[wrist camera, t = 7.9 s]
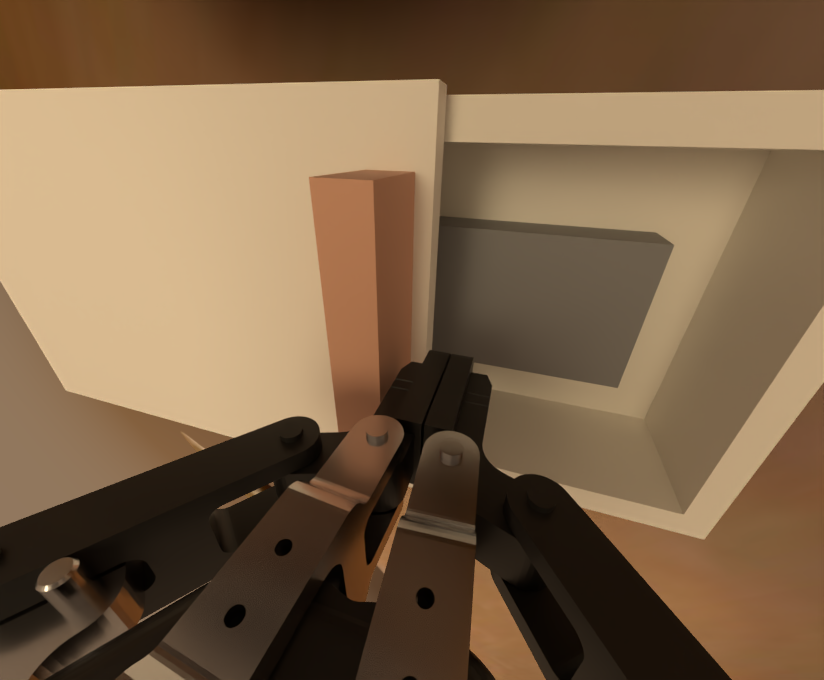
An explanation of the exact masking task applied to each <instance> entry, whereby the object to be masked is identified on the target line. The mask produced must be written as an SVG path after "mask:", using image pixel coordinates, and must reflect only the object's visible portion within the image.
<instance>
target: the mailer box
mask: <svg viewBox="0 0 824 680" xmlns="http://www.w3.org/2000/svg"><path fill="white" fill-rule="evenodd" d="M432 350H433V351H439V352H445V353H451V355H452V354H457V355H463V356H469V357H474V365H473V373H479V374H484V375H487V376H488V378H489V380H490V382H491V384H492V390H491V396H490V402H489V408H488V414H487V420H486V426H485V432H484V438H483V444H482V447H483V451H484V454H485V456H486V458H487V459H488V461H489V462H490V463H491V464H492V465H493V466H494V467H495V468H497V469H498V470H500V471H501V472H503V473H505V474H506V475H508V476H510V477H512V478H514V479H515V478H516V477H518V476H520V475H524V474H537V475H541V476H544V477H547V478H549V479H551V480H553V481H555V482H556V483H558V484H559V485H560V486H562V487H563V488H564V489H565V490H566V491H567V492H568V494H569V495H570V496H571V497H572V498H573V499H574V500H575V502H576V503H577V504H578V505H579V506H580V507H582V508H585V509H589V510H593V511H597V512H601V513H604V514H608V515H612V516H616V517H620V518H623V519H627V520H631V521H635V522H639V523H642V524H646V525H650V526H654V527H658V528H662V529H665V530H669V531H673V532H677V533H681V534H684V535H688V536H692V537H696V538H700V539H703V540H704V539H705V538H706V536H707V535H708V534H709V532H710V531H711V530H712V529H713V527H714V526H715V525H716V523H717V522H718V521H719V519H720V518H721V517H722V515H723V514H724V513H725V511H726V510H727V509H728V507H729V506H730V505H731V504H732V502H733V501H734V500H735V498H736V497H737V496H738V494H739V493H740V492H741V490H742V489H743V488H744V486H745V485H746V484H747V482H748V481H749V480H750V478H751V477H752V476H753V475H754V473H755V472H756V471H757V469H758V468H759V467H760V465H761V464H762V463H763V461H764V460H765V459H766V457H767V456H768V455H769V453H770V452H771V451H772V450H773V448H774V447H775V446H776V444H777V443H778V442H779V440H780V439H781V438H782V436H783V435H784V434H785V432H786V431H787V430H788V428H789V427H790V426H791V424H792V423H793V422H794V421H795V419H796V418H797V417H798V415H799V414H800V413H801V411H802V410H803V409H804V407H805V406H806V405H807V403H808V402H809V401H810V399H811V398H812V397H813V396H814V394H815V393H816V392H817V390H818V389H819V388H820V386H821V385H822V384H823V382H824V90H785V91H707V92H629V93H551V94H473V95H447V96H446V113H445V131H444V148H443V165H442V183H441V200H440V217H439V234H438V252H437V269H436V286H435V304H434V321H433V338H432Z"/></svg>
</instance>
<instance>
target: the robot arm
mask: <svg viewBox="0 0 824 680" xmlns="http://www.w3.org/2000/svg"><path fill="white" fill-rule="evenodd" d="M473 365H474V357H469V356H463V355H457V354H452V355H451V353H445V352H439V351H433V350H429V352H428V353H427V355H426V357H425V359H424V361H423V363H418V362H413V361H412V362H410V363H409V364H407V365H406V366H404V367H403V368H401V370H400V372H399V373H398V375H397V377H396V379H395V380H394V382H393V383H392V385H391V388H389V390H388V392H387V393H386V395H385V397H384V398H383V400H382V402H381V403H380V405H379V407H378V408H377V410H376V412H375V413H374V415H373V416H369V417H366V418H363V419H361V420H360V421H358V422H357V423H356V424H355V425H354V426H353V427H352V429H351V430H350V431H347V432H326V433H320V428H319V425H318V424H317V422H316V421H314V420H313V419H311V418H308V417H303V416H295V417H289V418H286V419H283V420H280V421H277V422H275V423H272V424H270V425H267V426H264V427H262V428H259V429H256V430H254V431H251V432H249V433H246V434H243V435H241V436H238V437H235V438H233V439H230V440H228V441H225V442H223V443H220V444H217V445H215V446H212V447H209V448H207V449H204V450H201V451H199V452H196V453H194V454H191V455H189V456H186V457H183V458H180V459H178V460H175V461H173V462H170V463H167V464H165V465H162V466H160V467H157V468H154V469H152V470H149V471H146V472H144V473H142V474H139V475H136V476H133V477H131V478H128V479H125V480H123V481H120V482H118V483H115V484H113V485H110V486H107V487H104V488H102V489H99V490H97V491H94V492H91V493H89V494H86V495H84V496H81V497H79V498H76V499H73V500H70V501H68V502H65V503H63V504H60V505H57V506H55V507H52V508H50V509H47V510H44V511H42V512H39V513H36V514H34V515H31V516H29V517H26V518H23V519H21V520H18V521H16V522H13V523H10V524H8V525H5V526H2V527H0V680H495V678H494V677H493V675H492V674H491V673H490V671H489V670H488V669H487V668H486V666H485V665H484V664H483V663H482V662H481V660H480V659H479V658H478V657H477V656H476V655H475V654H474V653H473V652H471V651H470V650H469V646H470V631H471V615H472V599H473V584H474V568H475V559H476V560H478V561H479V562H480V563H482V564H483V565H485V566H486V567H487V568H489V569H490V571H491V575H492V578H493V580H494V583H495V584H496V586H497V588H498V590H499V592H500V594H501V596H502V598H503V600H504V601H505V603H506V605H507V607H508V609H509V611H510V613H511V615H512V616H513V618H514V620H515V622H516V624H517V626H518V628H519V630H520V631H521V633H522V635H523V637H524V639H525V641H526V643H527V645H528V647H529V648H530V650H531V652H532V654H533V656H534V658H535V660H536V662H537V663H538V665H539V667H540V669H541V671H542V673H543V675H544V677H545V678H546V680H732V679H731V678H730V677H729V676H728V675H727V674H726V673H725V671H724V670H723V669H722V668H721V667H720V666H719V665H718V663H717V662H716V661H715V660H714V659H713V658H712V657H711V655H710V654H709V653H708V652H707V651H706V650H705V649H704V647H703V646H702V645H701V644H700V643H699V642H698V641H697V639H696V638H695V637H694V636H693V635H692V634H691V633H690V631H689V630H688V629H687V628H686V627H685V626H684V625H683V624H682V622H681V621H680V620H679V619H678V618H677V617H676V616H675V614H674V613H673V612H672V611H671V610H670V609H669V608H668V606H667V605H666V604H665V603H664V602H663V601H662V600H661V598H660V597H659V596H658V595H657V594H656V593H655V592H654V590H653V589H652V588H651V587H650V586H649V585H648V584H647V582H646V581H645V580H644V579H643V578H642V577H641V576H640V575H639V573H638V572H637V571H636V570H635V569H634V568H633V567H632V565H631V564H630V563H629V562H628V561H627V560H626V559H625V557H624V556H623V555H622V554H621V553H620V552H619V551H618V549H617V548H616V547H615V546H614V545H613V544H612V543H611V541H610V540H609V539H608V538H607V537H606V536H605V535H604V533H603V532H602V531H601V530H600V529H599V528H598V527H597V526H596V524H595V523H594V522H593V521H592V520H591V519H590V518H589V516H588V515H587V514H586V513H585V512H584V511H583V510H582V508H581V507H580V506H579V505H578V504H577V503H576V502H575V500H574V499H573V498H572V497H571V496H570V495H569V494H568V492H567V491H566V490H565V489H564V488H563V487H562V486H560V485H559V484H558V483H556V482H555V481H553V480H551V479H549V478H547V477H544V476H541V475H537V474H524V475H520V476H518V477H516V478H515V479H514V478H512V477H510V476H508V475H506V474H505V473H503V472H501V471H500V470H498V469H497V468H495V467H494V466H493V465H492V464H491V463H490V462H489V461H488V459H487V458H486V456H485V454H484V451H483V447H482V444H483V438H484V432H485V426H486V420H487V414H488V408H489V402H490V396H491V390H492V384H491V382H490V380H489V378H488V376H487V375H484V374H479V373H473ZM271 482H274V485H275V486H273V487H271V488H269V489H267V490H264V491H262V492H260V493H258V494H256V495H254V496H252V497H250V498H247V499H245V500H243V501H241V502H239V503H237V504H235V505H233V506H231V507H228V508H225V509H217V508H219V507H220V506H222V505H224V504H226V503H228V502H230V501H232V500H235V499H237V498H239V497H241V496H243V495H245V494H248V493H250V492H252V491H254V490H256V489H258V488H260V487H263V486H265V485H267V484H269V483H271ZM409 483H411V484H413V488H412V491H411V495H410V499H409V503H408V507H407V510H406V513H405V516H402V517H401V518H400V521H399V523H398V526H397V530H396V533H395V537H394V541H393V544H392V548H391V552H390V555H389V559H388V562H387V566H386V570H385V573H384V577H383V581H382V585H381V588H380V592H379V596H378V599H377V603H375V602H365V601H366V598H367V594H368V590H369V585H370V581H371V577H372V574H373V572H374V569H375V567H376V565H377V563H378V561H379V558H380V556H381V554H382V552H383V550H384V547H385V545H386V543H387V541H388V539H389V536H390V534H391V532H392V530H393V528H394V525H395V523H396V521H397V519H398V517H399V514H400V512H401V510H402V507H403V499H404V496H405V494H406V491H407V488H408V486H409ZM209 581H211V582H209ZM207 582H209V583H207ZM205 583H207V584H205ZM204 584H205V585H204ZM202 585H203V586H202ZM200 586H202V587H200ZM198 587H200V588H198ZM196 588H198V589H196ZM194 589H196V590H195V591H194V592H191V591H193V590H194ZM189 592H191V593H190V594H188V595H186V594H187V593H189ZM184 595H186V596H185V597H183V598H181V599H180V600H178V601H176V602H175V603H173V604H171V605H169V606H168V607H166V608H164V609H163V610H161V611H159V612H158V613H156V614H154V615H152V616H151V617H149V618H147V619H146V620H144V621H143V622H141V623H139V624H138V622H139V620H141V619H143V618H144V617H146V616H148V615H150V614H152V613H153V612H155V611H157V610H159V609H160V608H162V607H164V606H166V605H168V604H169V603H171V602H173V601H175V600H176V599H178V598H180V597H182V596H184Z"/></svg>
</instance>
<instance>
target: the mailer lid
mask: <svg viewBox="0 0 824 680" xmlns="http://www.w3.org/2000/svg"><path fill="white" fill-rule="evenodd" d="M446 96H447V84H445V83H444V82H443V81H441V80H440V79H421V80H380V81H339V82H299V83H258V84H217V85H176V86H135V87H94V88H53V89H13V90H0V281H1V283H2V285H3V286H4V288H5V290H6V291H7V293H8V295H9V296H10V298H11V300H12V301H13V303H14V305H15V306H16V308H17V309H18V311H19V313H20V315H21V316H22V318H23V320H24V321H25V323H26V325H27V326H28V328H29V330H30V331H31V333H32V335H33V336H34V338H35V340H36V341H37V343H38V345H39V346H40V348H41V350H42V351H43V353H44V355H45V356H46V358H47V360H48V361H49V363H50V365H51V366H52V368H53V370H54V371H55V373H56V375H57V376H58V378H59V380H60V381H61V383H62V385H63V386H64V388H65V390H66V391H69V392H73V393H76V394H80V395H84V396H87V397H91V398H94V399H98V400H102V401H105V402H108V403H112V404H116V405H119V406H123V407H126V408H130V409H134V410H137V411H141V412H144V413H148V414H151V415H155V416H158V417H162V418H166V419H169V420H173V421H176V422H180V423H183V424H187V425H191V426H194V427H197V428H201V429H205V430H208V431H212V432H215V433H219V434H223V435H226V436H230V437H233V438H235V437H238V436H241V435H243V434H246V433H249V432H251V431H254V430H256V429H259V428H262V427H264V426H267V425H270V424H272V423H275V422H277V421H280V420H283V419H286V418H289V417H295V416H303V417H308V418H311V419H313V420H314V421H316V422H317V424H318V425H319V428H320V433H326V432H347V431H350V430H351V429H352V427H353V426H354V425H355V424H356V423H357V422H358V421H360V420H361V419H363V418H366V417H369V416H373V415H374V413H375V412H376V410H377V408H378V407H379V405H380V403H381V402H382V400H383V398H384V397H385V395H386V393H387V392H388V390H389V388H391V385H392V383H393V382H394V380H395V379H396V377H397V375H398V373H399V372H400V370H401V368H403V367H404V366H406V365H407V364H409V363H410V362H412V361H413V362H418V363H423V361H424V359H425V357H426V355H427V353H428V352H429V350H432V338H433V321H434V304H435V286H436V269H437V252H438V234H439V217H440V200H441V183H442V165H443V148H444V131H445V113H446ZM408 487H411V488H413V484H411V483H409V486H408Z"/></svg>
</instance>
